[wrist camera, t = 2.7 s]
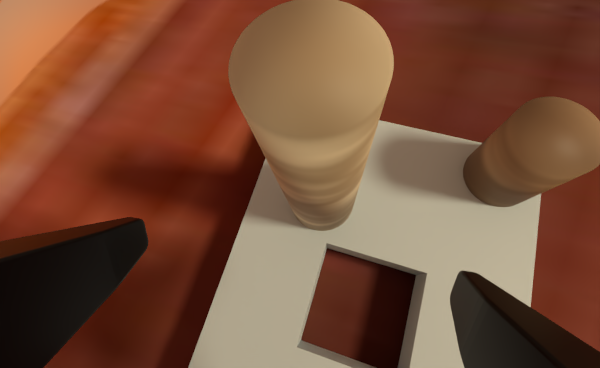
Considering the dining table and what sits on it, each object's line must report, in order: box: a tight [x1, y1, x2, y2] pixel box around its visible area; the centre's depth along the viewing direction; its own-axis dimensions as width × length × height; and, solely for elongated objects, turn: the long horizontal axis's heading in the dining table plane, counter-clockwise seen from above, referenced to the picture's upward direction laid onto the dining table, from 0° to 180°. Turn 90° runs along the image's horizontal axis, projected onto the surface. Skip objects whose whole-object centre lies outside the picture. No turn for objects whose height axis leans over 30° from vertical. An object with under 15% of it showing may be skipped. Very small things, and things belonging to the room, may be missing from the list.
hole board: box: [188, 120, 541, 368], centre depth 19 cm, size 20×17×2 cm
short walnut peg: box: [463, 97, 600, 207], centre depth 17 cm, size 4×4×6 cm
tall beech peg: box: [229, 0, 394, 231], centre depth 14 cm, size 4×4×13 cm
